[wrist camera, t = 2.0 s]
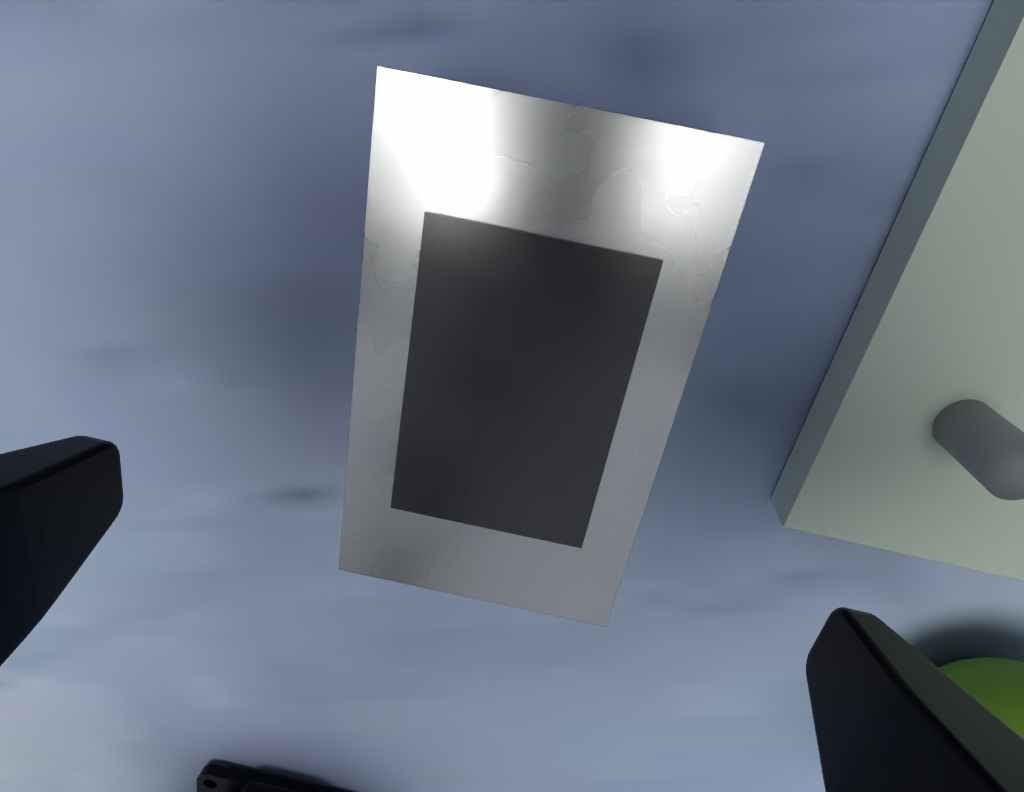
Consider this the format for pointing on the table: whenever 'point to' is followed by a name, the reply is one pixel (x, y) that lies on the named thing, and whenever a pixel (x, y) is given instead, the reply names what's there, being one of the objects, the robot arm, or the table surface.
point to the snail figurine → (993, 686)
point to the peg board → (935, 349)
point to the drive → (525, 336)
